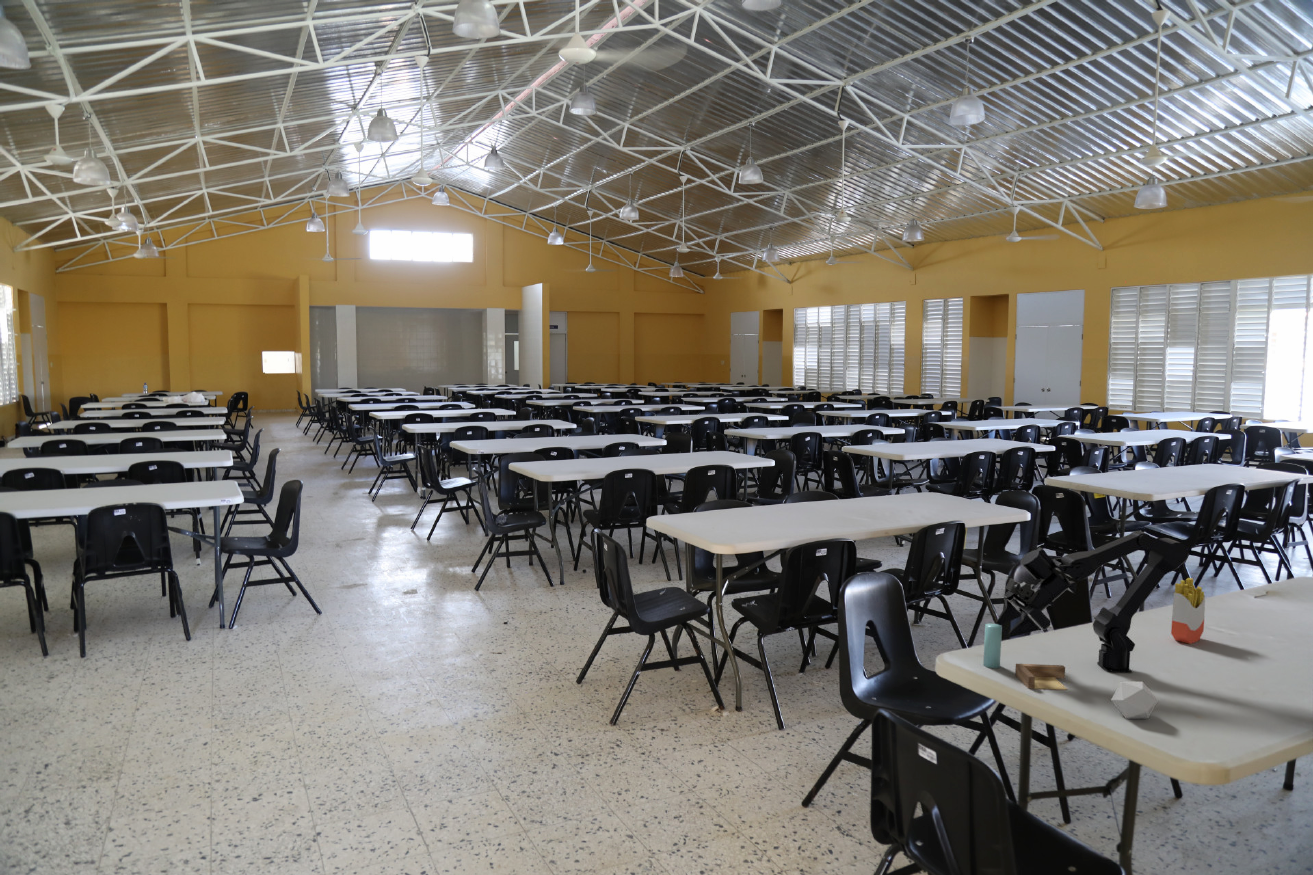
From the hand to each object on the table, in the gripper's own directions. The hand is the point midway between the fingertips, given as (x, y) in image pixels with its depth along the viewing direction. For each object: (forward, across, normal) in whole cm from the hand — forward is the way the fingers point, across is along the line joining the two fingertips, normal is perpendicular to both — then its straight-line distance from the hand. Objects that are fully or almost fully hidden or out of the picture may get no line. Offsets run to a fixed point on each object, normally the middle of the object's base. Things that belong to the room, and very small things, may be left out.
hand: (1002, 630), depth 230 cm
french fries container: (-39, -26, +52) cm, 70 cm away
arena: (+2, +12, +12) cm, 17 cm away
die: (-6, +32, +20) cm, 38 cm away
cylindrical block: (+9, 0, +5) cm, 10 cm away
